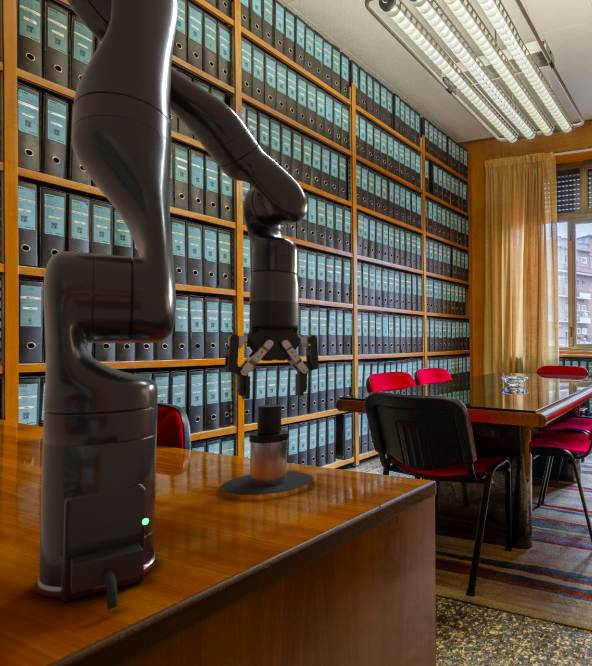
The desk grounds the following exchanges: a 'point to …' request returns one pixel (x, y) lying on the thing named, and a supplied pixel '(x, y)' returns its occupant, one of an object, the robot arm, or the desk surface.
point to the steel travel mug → (268, 448)
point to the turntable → (244, 487)
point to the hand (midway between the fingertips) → (273, 397)
